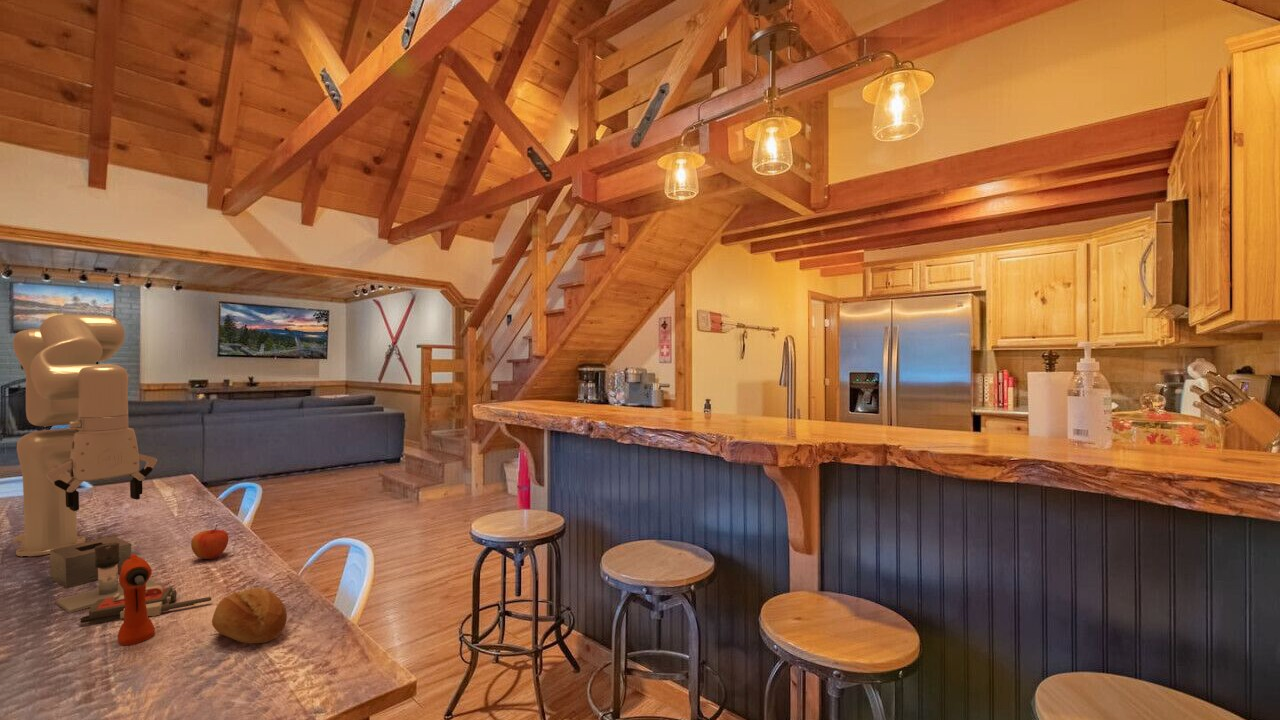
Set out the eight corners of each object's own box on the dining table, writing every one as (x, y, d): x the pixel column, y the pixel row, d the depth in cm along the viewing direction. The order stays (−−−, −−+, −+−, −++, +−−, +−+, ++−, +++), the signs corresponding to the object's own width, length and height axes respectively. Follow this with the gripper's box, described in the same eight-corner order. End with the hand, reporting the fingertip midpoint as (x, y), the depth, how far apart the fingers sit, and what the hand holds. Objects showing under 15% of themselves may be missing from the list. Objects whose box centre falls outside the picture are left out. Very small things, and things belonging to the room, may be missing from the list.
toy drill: (123, 665, 87) (120, 569, 88) (116, 638, 100) (113, 555, 101) (163, 652, 91) (160, 560, 92) (152, 628, 104) (149, 548, 105)
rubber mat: (55, 603, 113) (55, 600, 113) (142, 578, 125) (142, 576, 125) (69, 613, 108) (69, 610, 108) (159, 586, 120) (159, 584, 120)
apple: (184, 561, 135) (184, 529, 135) (217, 551, 142) (216, 520, 142) (203, 565, 132) (202, 532, 132) (235, 555, 139) (234, 523, 139)
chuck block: (50, 578, 126) (49, 550, 126) (114, 562, 135) (113, 536, 135) (66, 588, 120) (65, 558, 120) (131, 570, 130) (131, 543, 130)
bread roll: (243, 659, 91) (242, 611, 91) (197, 639, 98) (196, 594, 98) (301, 632, 100) (300, 589, 100) (255, 615, 107) (254, 575, 107)
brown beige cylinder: (90, 596, 115) (89, 548, 114) (107, 588, 118) (106, 542, 118) (109, 595, 115) (107, 548, 115) (125, 587, 119) (124, 542, 118)
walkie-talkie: (74, 633, 101) (210, 607, 111) (74, 610, 101) (210, 586, 111) (93, 613, 109) (218, 591, 119) (92, 592, 109) (218, 571, 119)
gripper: (51, 431, 107) (53, 517, 107) (162, 420, 122) (164, 497, 122) (39, 427, 111) (41, 511, 111) (149, 418, 126) (150, 492, 126)
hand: (105, 503), depth 117 cm, fingers open, 9 cm apart
